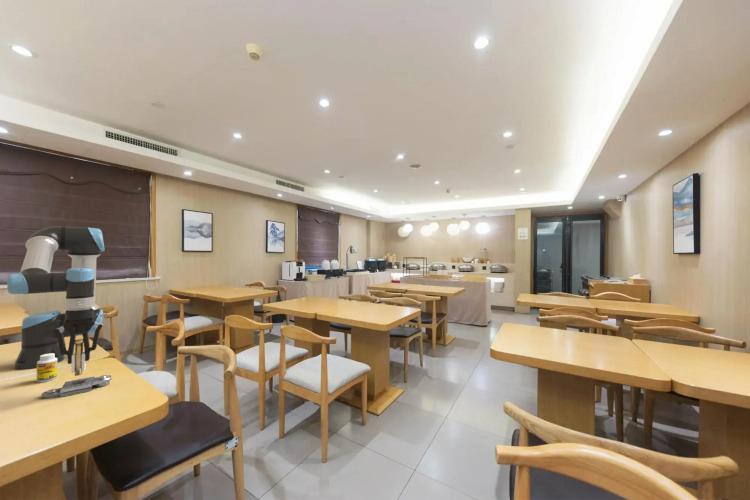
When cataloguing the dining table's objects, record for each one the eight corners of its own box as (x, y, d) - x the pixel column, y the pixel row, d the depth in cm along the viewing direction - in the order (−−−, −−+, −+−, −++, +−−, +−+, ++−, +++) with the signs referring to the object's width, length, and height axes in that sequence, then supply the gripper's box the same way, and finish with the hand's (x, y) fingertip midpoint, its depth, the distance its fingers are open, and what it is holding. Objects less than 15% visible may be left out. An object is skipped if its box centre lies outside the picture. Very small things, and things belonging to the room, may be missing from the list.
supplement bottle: (33, 384, 113) (34, 358, 113) (39, 378, 118) (40, 353, 118) (54, 380, 116) (54, 355, 116) (59, 375, 121) (59, 351, 121)
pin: (73, 374, 109) (74, 339, 109) (84, 372, 111) (85, 338, 111) (72, 376, 106) (72, 341, 107) (83, 374, 108) (84, 340, 108)
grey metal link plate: (44, 393, 106) (44, 384, 106) (112, 379, 117) (112, 371, 117) (38, 401, 100) (38, 392, 100) (110, 386, 111) (110, 378, 111)
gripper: (47, 312, 101) (46, 379, 101) (105, 307, 111) (104, 368, 110) (53, 309, 107) (51, 372, 107) (107, 305, 117) (106, 363, 116)
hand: (78, 370), depth 109 cm, fingers closed on pin, 2 cm apart
